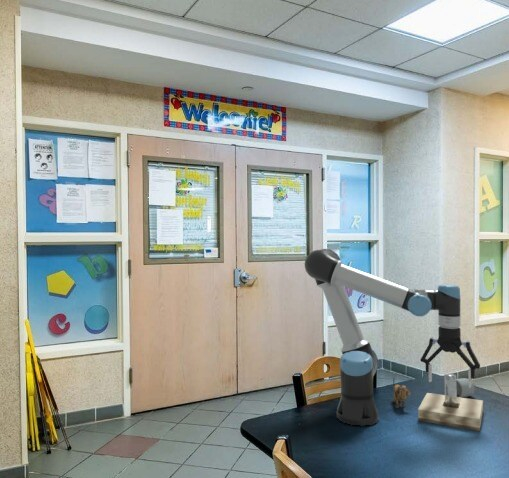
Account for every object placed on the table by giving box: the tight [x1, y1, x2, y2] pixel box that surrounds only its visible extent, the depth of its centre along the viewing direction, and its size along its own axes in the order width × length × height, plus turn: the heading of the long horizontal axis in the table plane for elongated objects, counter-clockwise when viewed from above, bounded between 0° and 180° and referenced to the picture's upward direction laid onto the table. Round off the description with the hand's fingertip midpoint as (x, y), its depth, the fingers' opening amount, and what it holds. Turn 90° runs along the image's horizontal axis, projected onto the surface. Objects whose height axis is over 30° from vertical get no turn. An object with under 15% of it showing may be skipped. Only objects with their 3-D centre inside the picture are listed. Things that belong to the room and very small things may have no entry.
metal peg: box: [444, 373, 457, 408], centre depth 167 cm, size 4×4×14 cm
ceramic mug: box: [456, 377, 476, 398], centre depth 188 cm, size 11×8×8 cm
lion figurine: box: [392, 384, 412, 408], centre depth 180 cm, size 15×5×9 cm, turn 1°
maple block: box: [417, 392, 484, 432], centre depth 167 cm, size 20×20×4 cm
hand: (449, 384), depth 167 cm, fingers open, 13 cm apart
